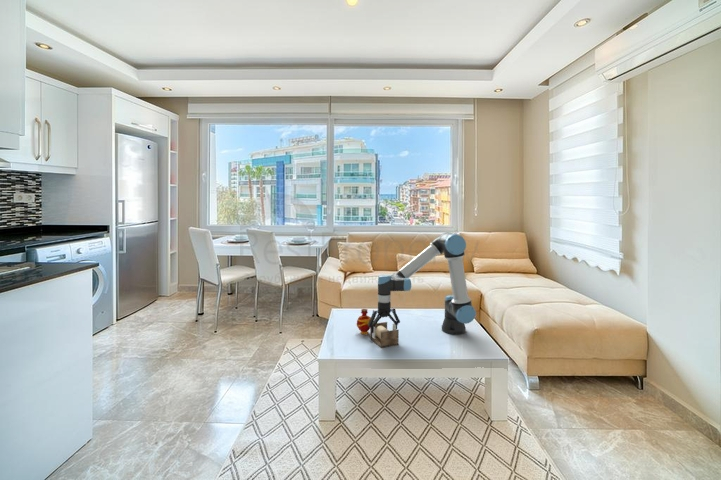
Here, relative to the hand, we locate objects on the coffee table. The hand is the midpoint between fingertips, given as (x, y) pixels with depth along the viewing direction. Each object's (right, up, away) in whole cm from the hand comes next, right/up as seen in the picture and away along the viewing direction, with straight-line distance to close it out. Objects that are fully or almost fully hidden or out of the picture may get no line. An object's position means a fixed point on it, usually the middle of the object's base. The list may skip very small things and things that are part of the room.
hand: (384, 336), depth 205 cm
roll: (-1, -2, 0) cm, 2 cm away
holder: (0, -3, 0) cm, 3 cm away
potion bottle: (-11, -2, +15) cm, 19 cm away
